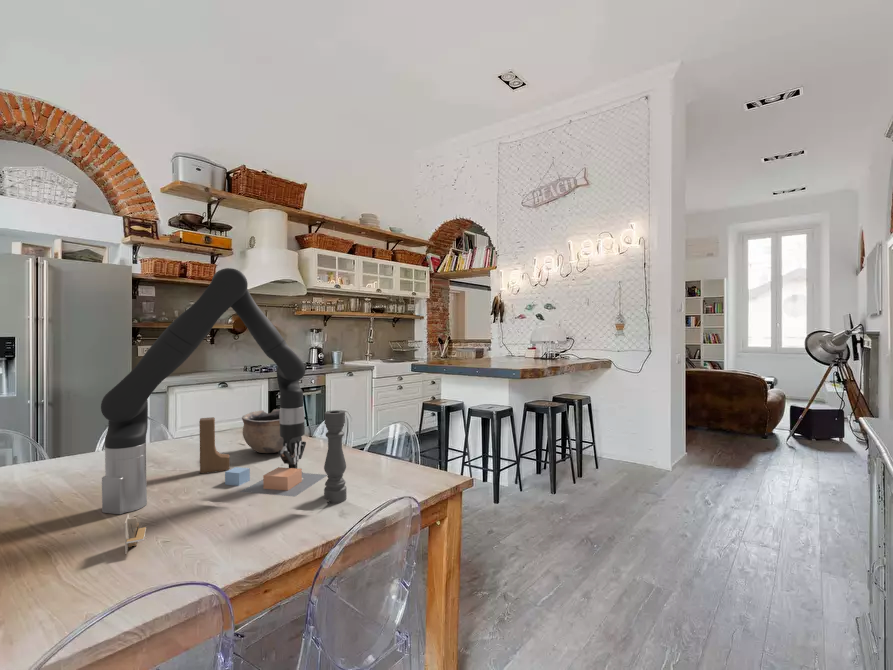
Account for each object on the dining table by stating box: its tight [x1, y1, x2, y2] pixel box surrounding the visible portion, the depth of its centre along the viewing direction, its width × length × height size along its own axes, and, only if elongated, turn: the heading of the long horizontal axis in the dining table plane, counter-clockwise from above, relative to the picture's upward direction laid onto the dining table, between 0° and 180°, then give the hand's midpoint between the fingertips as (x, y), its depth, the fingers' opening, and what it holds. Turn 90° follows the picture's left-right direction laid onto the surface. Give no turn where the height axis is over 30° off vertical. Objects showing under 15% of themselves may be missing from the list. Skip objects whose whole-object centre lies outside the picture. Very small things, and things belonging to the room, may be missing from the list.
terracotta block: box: [262, 466, 303, 491], centre depth 142 cm, size 8×8×4 cm
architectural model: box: [124, 513, 147, 554], centre depth 104 cm, size 3×7×7 cm, turn 29°
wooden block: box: [199, 417, 231, 474], centre depth 160 cm, size 9×4×18 cm, turn 115°
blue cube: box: [224, 466, 251, 487], centre depth 145 cm, size 5×5×5 cm
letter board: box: [240, 472, 328, 497], centre depth 144 cm, size 20×18×1 cm
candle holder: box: [323, 409, 348, 505], centre depth 133 cm, size 6×6×25 cm
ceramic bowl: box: [241, 408, 284, 454], centre depth 185 cm, size 22×22×15 cm
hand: (293, 475), depth 148 cm, fingers closed
